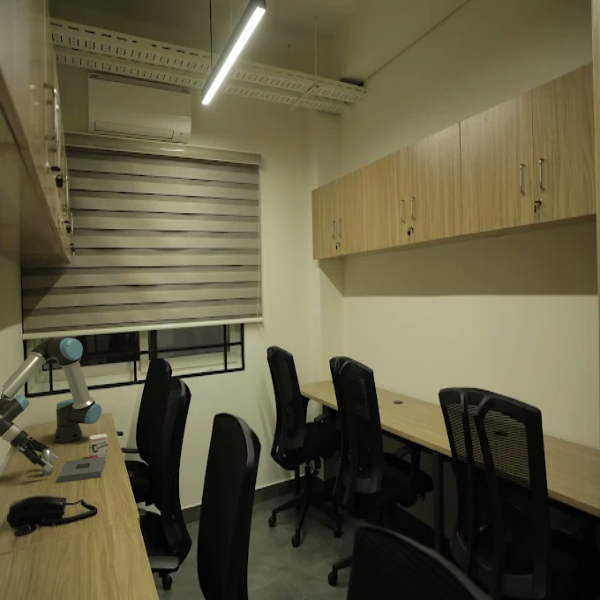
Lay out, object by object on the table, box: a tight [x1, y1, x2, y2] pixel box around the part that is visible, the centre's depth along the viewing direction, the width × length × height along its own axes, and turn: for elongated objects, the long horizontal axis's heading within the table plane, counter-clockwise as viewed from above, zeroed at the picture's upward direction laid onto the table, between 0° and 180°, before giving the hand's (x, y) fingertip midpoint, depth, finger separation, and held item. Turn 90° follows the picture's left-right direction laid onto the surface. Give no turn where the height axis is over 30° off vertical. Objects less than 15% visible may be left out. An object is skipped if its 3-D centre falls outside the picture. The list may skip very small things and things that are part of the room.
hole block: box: [57, 457, 106, 483], centre depth 213 cm, size 18×18×3 cm
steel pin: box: [41, 448, 53, 477], centre depth 210 cm, size 4×4×12 cm
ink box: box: [88, 433, 109, 459], centre depth 231 cm, size 8×5×12 cm, turn 123°
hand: (53, 464), depth 211 cm, fingers open, 10 cm apart
